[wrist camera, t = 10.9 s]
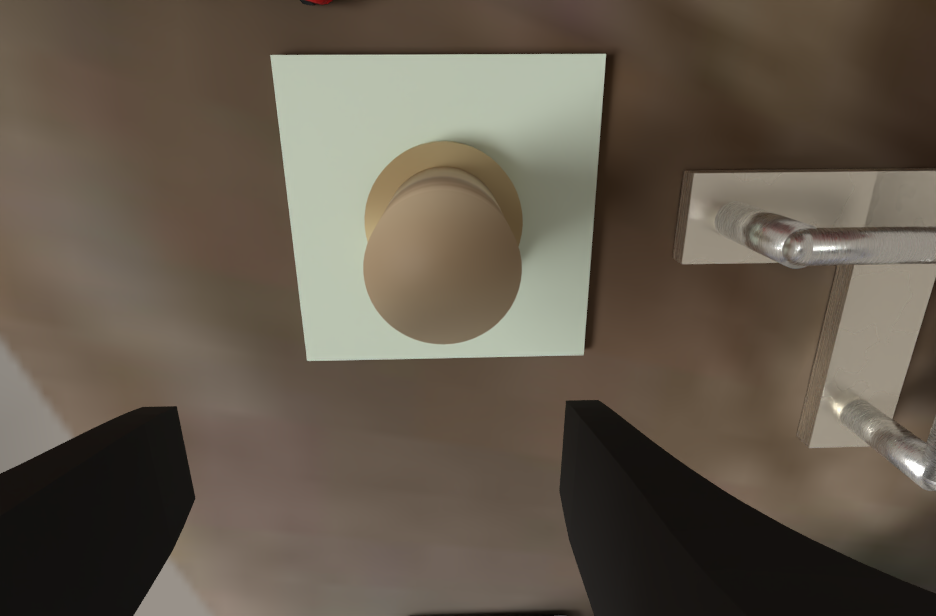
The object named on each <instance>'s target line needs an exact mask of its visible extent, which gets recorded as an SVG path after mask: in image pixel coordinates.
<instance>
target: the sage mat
mask: <svg viewBox="0 0 936 616" xmlns="http://www.w3.org/2000/svg"><path fill="white" fill-rule="evenodd" d="M270 56H271V64H272V72H273V81H274V89H275V97H276V106H277V114H278V122H279V130H280V139H281V147H282V155H283V164H284V172H285V180H286V189H287V197H288V205H289V214H290V222H291V230H292V238H293V247H294V255H295V263H296V272H297V280H298V288H299V297H300V305H301V313H302V322H303V330H304V338H305V347H306V355H307V361H329V360H376V359H423V358H471V357H518V356H565V355H584V344H585V330H586V317H587V304H588V290H589V277H590V263H591V250H592V237H593V223H594V210H595V197H596V183H597V170H598V156H599V143H600V130H601V116H602V103H603V90H604V76H605V63H606V54H428V55H270ZM434 141H453V142H458V143H463V144H466V145H469V146H472V147H474V148H476V149H478V150H480V151H482V152H484V153H485V154H486V155H488V156H489V157H491V158H492V159H493V160H494V161H495V162H496V163H497V164H498V165H499V166H500V167H501V168H502V169H503V170H504V172H505V173H506V174H507V175H508V177H509V178H510V180H511V181H512V183H513V185H514V187H515V189H516V191H517V193H518V197H519V200H520V203H521V208H522V217H523V227H522V235H521V240H520V244H519V250H520V255H521V261H522V275H521V283H520V287H519V291H518V293H517V296H516V299H515V301H514V302H513V304H512V306H511V308H510V309H509V311H508V312H507V314H506V315H505V316H504V317H503V318H502V319H501V320H500V321H499V323H497V324H496V325H495V326H494V327H493V328H491V329H490V330H488V331H487V332H485V333H484V334H482V335H480V336H478V337H476V338H474V339H471V340H468V341H465V342H460V343H455V344H431V343H425V342H421V341H418V340H415V339H412V338H410V337H408V336H406V335H404V334H402V333H400V332H399V331H397V330H396V329H394V328H393V327H392V326H390V325H389V324H388V323H387V322H386V321H385V320H384V319H383V318H382V317H381V315H380V314H379V313H378V312H377V310H376V309H375V307H374V305H373V304H372V302H371V300H370V297H369V295H368V293H367V289H366V286H365V281H364V275H363V261H364V254H365V250H366V246H367V243H368V242H367V238H366V233H365V220H364V215H365V208H366V203H367V199H368V195H369V193H370V191H371V188H372V186H373V184H374V182H375V181H376V179H377V177H378V176H379V175H380V173H381V172H382V171H383V169H384V168H385V167H386V166H387V165H388V164H389V163H390V162H391V161H392V160H393V159H394V158H396V157H397V156H399V155H400V154H401V153H403V152H404V151H406V150H408V149H410V148H412V147H415V146H417V145H420V144H424V143H428V142H434Z"/></svg>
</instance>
